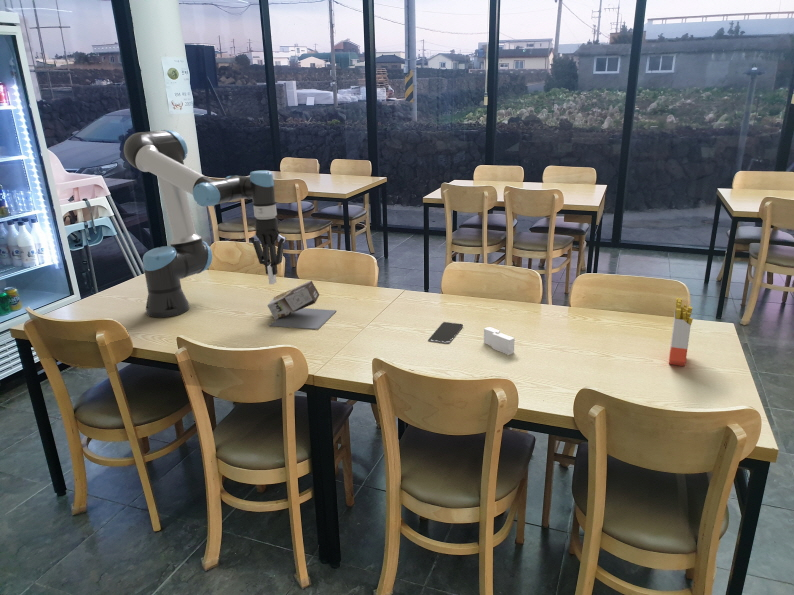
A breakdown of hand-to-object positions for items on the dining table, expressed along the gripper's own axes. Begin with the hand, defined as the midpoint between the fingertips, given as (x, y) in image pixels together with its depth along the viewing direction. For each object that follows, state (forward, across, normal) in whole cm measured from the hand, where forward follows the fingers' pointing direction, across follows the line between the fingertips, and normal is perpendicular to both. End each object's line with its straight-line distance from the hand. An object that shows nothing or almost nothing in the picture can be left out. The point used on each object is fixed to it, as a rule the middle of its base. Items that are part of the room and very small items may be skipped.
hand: (272, 283), depth 215 cm
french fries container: (+14, +132, -12) cm, 133 cm away
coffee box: (+10, -1, 0) cm, 10 cm away
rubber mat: (+13, +11, 0) cm, 17 cm away
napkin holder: (+14, +81, -11) cm, 83 cm away
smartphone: (+14, +63, -4) cm, 64 cm away
